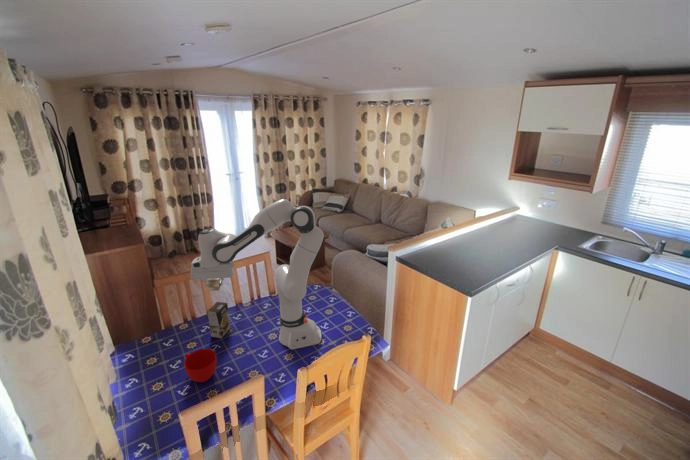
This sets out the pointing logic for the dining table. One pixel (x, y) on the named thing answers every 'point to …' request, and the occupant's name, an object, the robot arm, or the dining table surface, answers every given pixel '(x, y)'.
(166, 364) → the dining table surface
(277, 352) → the dining table surface
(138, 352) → the dining table surface
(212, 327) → the coffee box
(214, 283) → the maple cube
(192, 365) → the ceramic cup
